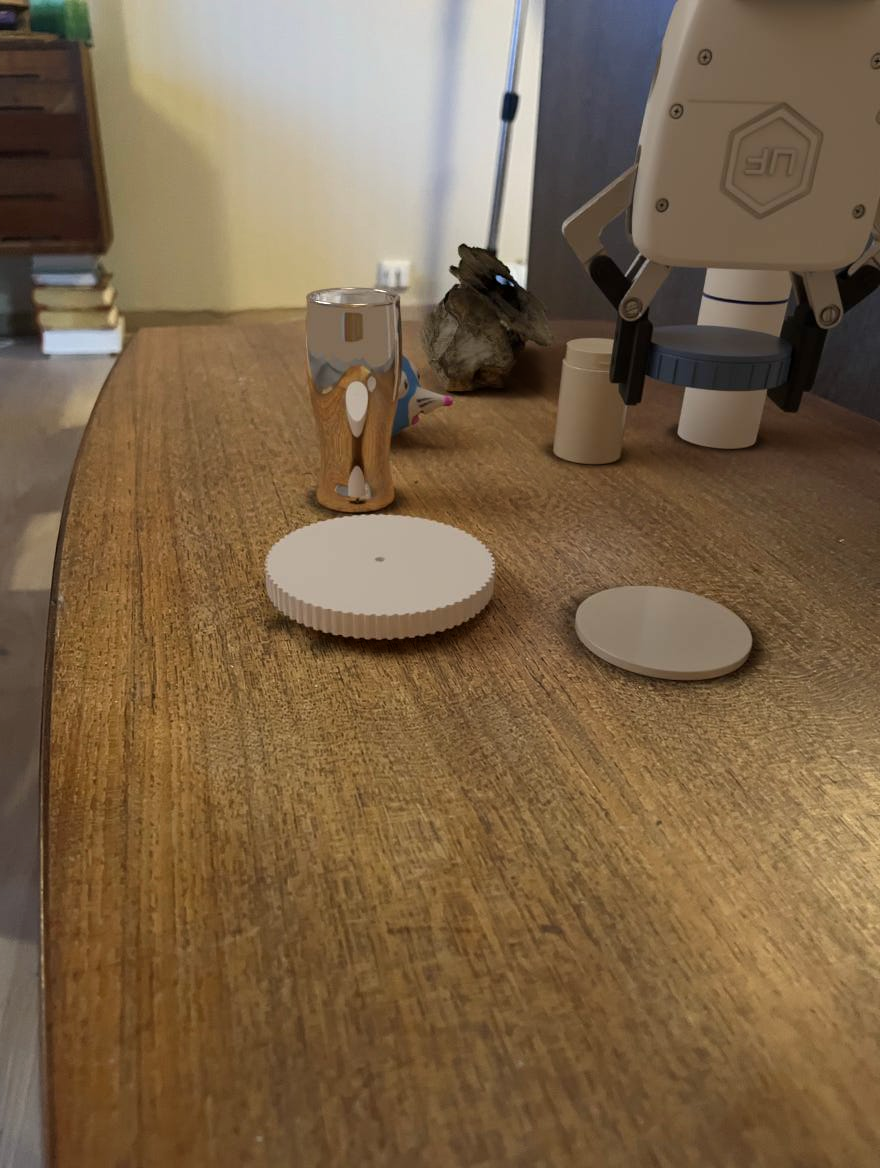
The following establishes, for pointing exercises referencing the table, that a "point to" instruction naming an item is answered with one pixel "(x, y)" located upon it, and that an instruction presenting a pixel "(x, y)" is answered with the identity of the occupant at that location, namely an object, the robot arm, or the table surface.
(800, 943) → the table surface
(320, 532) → the plastic lid
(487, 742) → the table surface
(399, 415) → the blue toy animal
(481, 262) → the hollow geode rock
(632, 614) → the coaster
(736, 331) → the lid
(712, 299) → the cylindrical container
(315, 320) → the beer glass
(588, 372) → the jar
